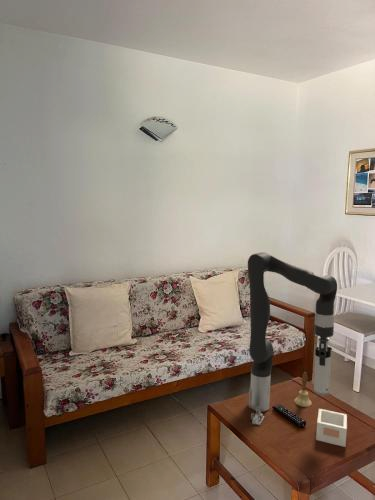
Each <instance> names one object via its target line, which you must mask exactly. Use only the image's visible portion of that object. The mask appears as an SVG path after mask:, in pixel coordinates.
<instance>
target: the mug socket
mask: <svg viewBox="0 0 375 500" xmlns="http://www.w3.org/2000/svg"><path fill="white" fill-rule="evenodd" d="M317 413H318V415H317V421H316V434H315V440H316V441H319V442H323V443H328V444H332V445H335V446H339V447H344V448H346V444H347V430H348V420H347V418H348V416H347V415H348V414H346V413H342V412H337V411H332V410H328V409H324V408H318V412H317Z"/></svg>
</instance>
